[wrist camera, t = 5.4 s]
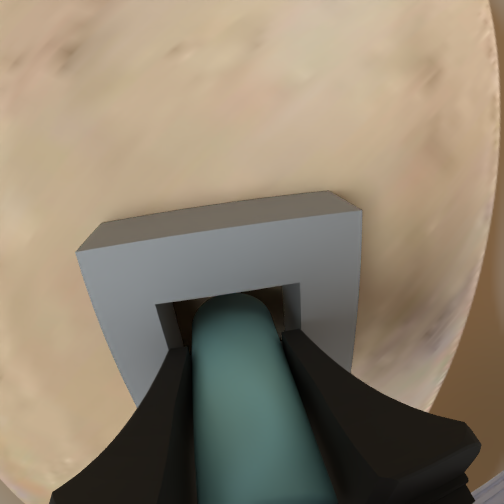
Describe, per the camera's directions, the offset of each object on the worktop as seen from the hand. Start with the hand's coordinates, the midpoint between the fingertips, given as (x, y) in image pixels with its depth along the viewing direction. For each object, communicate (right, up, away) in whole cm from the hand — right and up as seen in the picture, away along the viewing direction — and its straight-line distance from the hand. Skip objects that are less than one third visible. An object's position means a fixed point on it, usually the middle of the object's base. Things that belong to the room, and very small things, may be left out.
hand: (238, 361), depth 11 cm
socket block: (-1, +1, +3) cm, 4 cm away
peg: (0, +1, +2) cm, 2 cm away
